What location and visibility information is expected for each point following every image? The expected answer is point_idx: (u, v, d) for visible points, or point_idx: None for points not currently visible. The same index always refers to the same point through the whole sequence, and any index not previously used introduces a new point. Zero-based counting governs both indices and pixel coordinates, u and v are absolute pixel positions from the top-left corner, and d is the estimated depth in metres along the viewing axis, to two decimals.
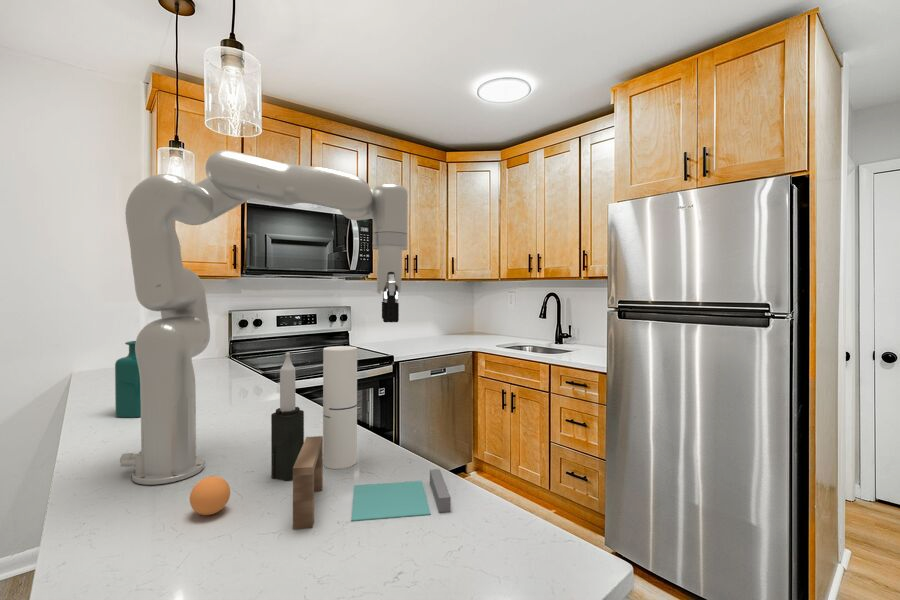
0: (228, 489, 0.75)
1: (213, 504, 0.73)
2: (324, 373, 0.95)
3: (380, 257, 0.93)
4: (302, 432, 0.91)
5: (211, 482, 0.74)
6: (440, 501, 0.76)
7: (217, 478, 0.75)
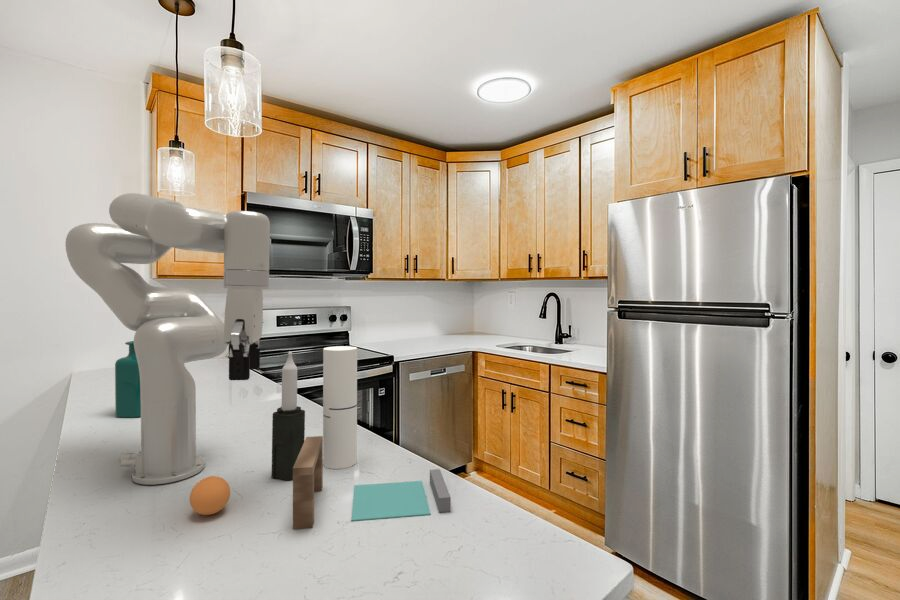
0: (228, 489, 0.75)
1: (213, 504, 0.73)
2: (324, 373, 0.95)
3: (227, 301, 0.76)
4: (303, 432, 0.91)
5: (211, 482, 0.74)
6: (440, 501, 0.76)
7: (217, 478, 0.75)
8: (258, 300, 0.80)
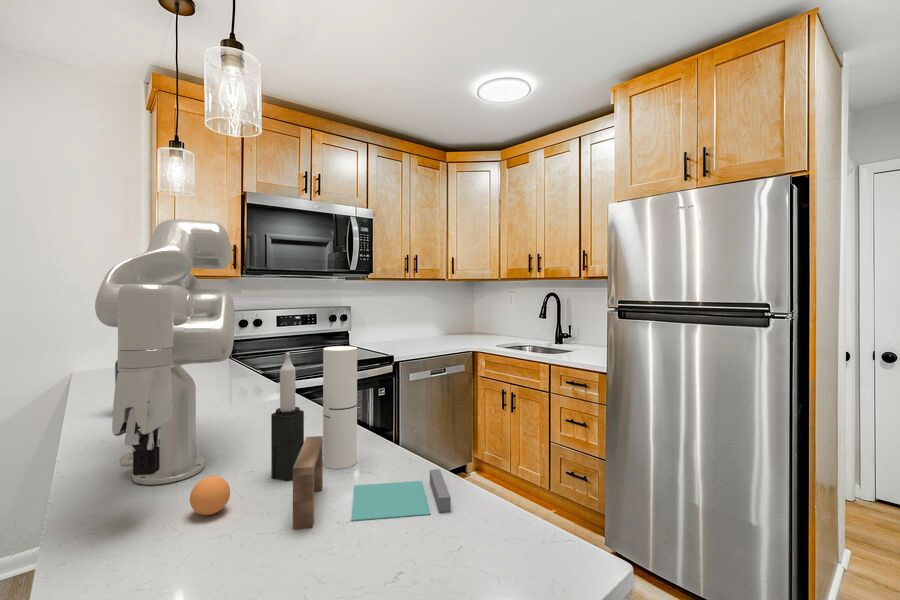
0: (228, 489, 0.75)
1: (213, 504, 0.73)
2: (324, 373, 0.95)
3: (116, 387, 0.68)
4: (302, 432, 0.91)
5: (211, 482, 0.74)
6: (440, 501, 0.76)
7: (217, 478, 0.75)
8: (156, 382, 0.71)
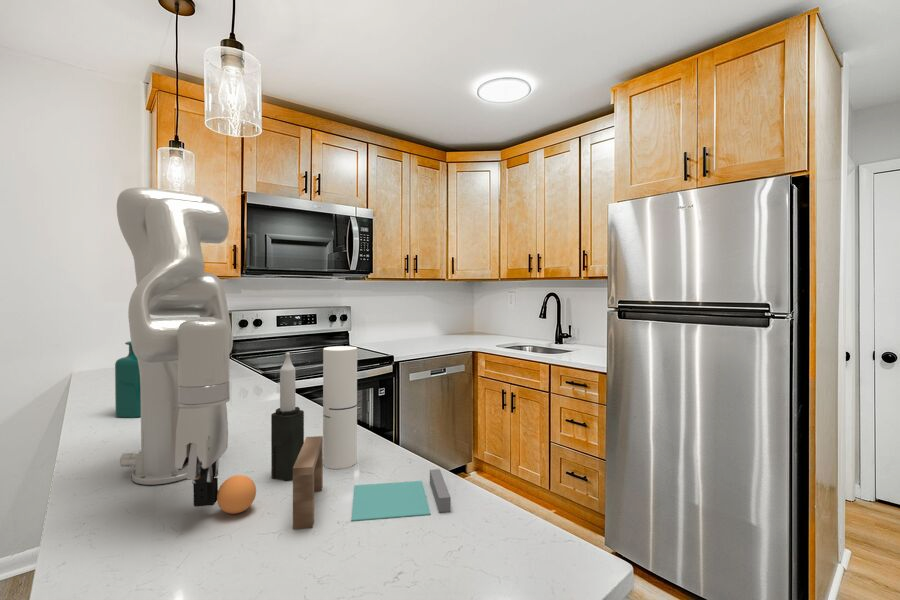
0: None
1: (232, 510, 0.73)
2: (324, 373, 0.95)
3: (178, 423, 0.69)
4: (302, 432, 0.91)
5: (251, 493, 0.75)
6: (440, 501, 0.76)
7: (255, 492, 0.76)
8: (215, 417, 0.72)
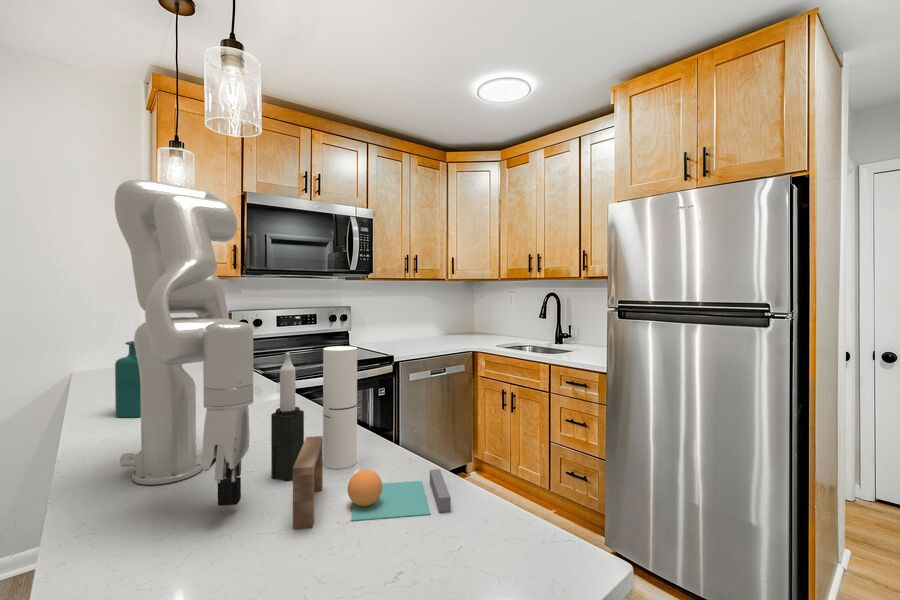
0: None
1: (357, 501, 0.76)
2: (324, 373, 0.95)
3: (205, 425, 0.70)
4: (302, 432, 0.91)
5: None
6: (440, 501, 0.76)
7: None
8: (240, 418, 0.74)
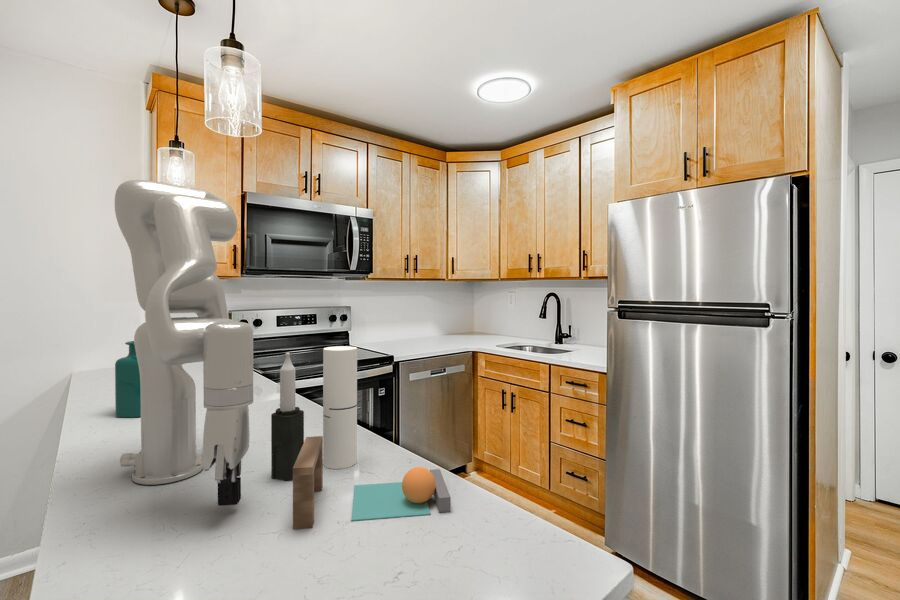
0: (422, 468, 0.80)
1: (425, 484, 0.77)
2: (324, 373, 0.95)
3: (205, 425, 0.70)
4: (302, 432, 0.91)
5: (407, 477, 0.78)
6: (440, 501, 0.76)
7: (407, 472, 0.79)
8: (240, 418, 0.74)
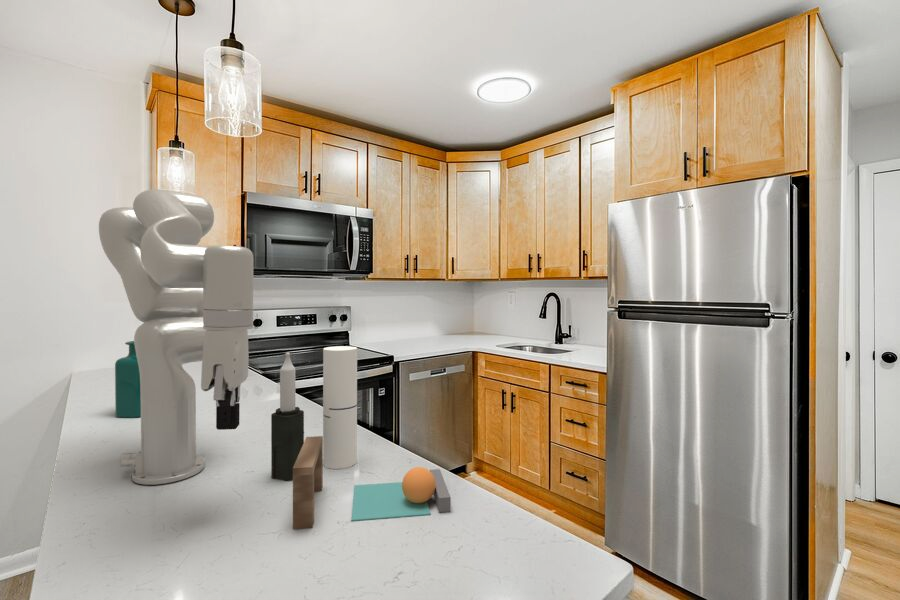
0: (422, 468, 0.80)
1: (425, 484, 0.77)
2: (324, 373, 0.95)
3: (204, 345, 0.70)
4: (302, 432, 0.91)
5: (407, 477, 0.78)
6: (440, 501, 0.76)
7: (407, 472, 0.79)
8: (240, 342, 0.73)
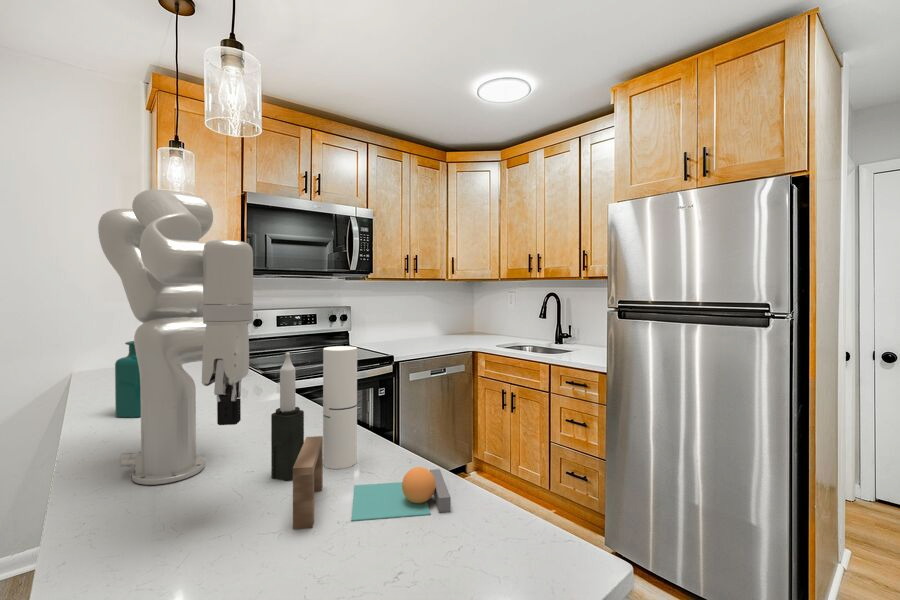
0: (422, 468, 0.80)
1: (425, 484, 0.77)
2: (324, 373, 0.95)
3: (204, 339, 0.70)
4: (302, 432, 0.91)
5: (407, 477, 0.78)
6: (440, 501, 0.76)
7: (407, 472, 0.79)
8: (240, 336, 0.73)
